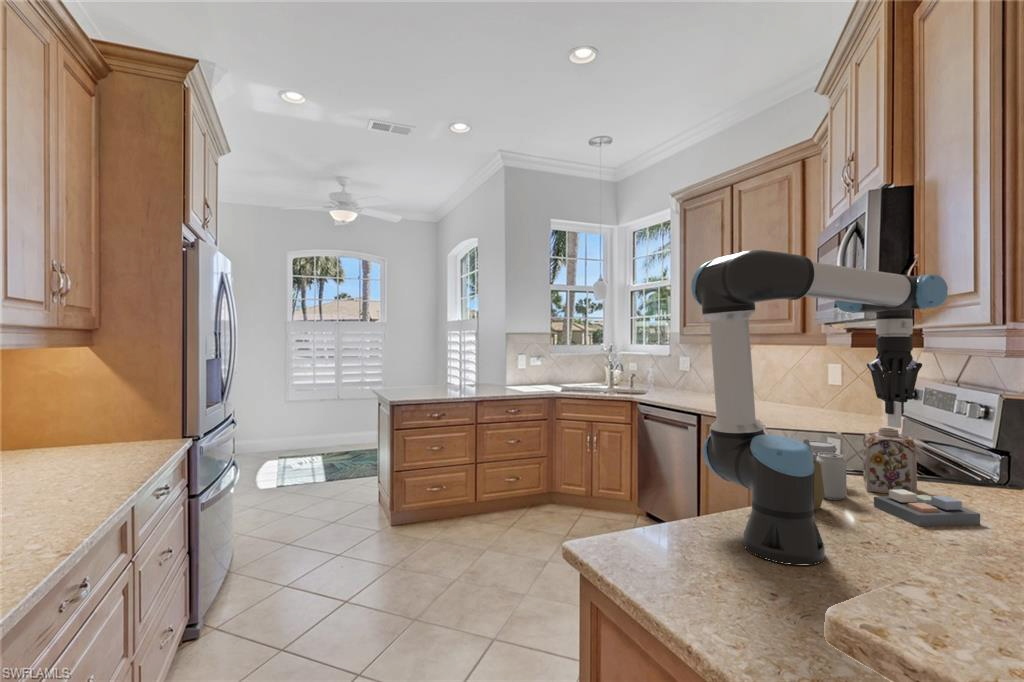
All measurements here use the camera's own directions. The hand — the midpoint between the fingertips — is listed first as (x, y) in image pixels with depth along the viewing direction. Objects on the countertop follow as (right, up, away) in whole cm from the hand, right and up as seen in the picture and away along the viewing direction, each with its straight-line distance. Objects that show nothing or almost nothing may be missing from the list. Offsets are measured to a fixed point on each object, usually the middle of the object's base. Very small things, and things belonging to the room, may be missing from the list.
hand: (894, 426), depth 128 cm
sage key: (+8, -21, 0) cm, 23 cm away
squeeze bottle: (-20, -22, +4) cm, 30 cm away
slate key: (+8, -20, -6) cm, 22 cm away
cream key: (+2, -20, -1) cm, 20 cm away
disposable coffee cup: (-3, -22, +26) cm, 34 cm away
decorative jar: (+12, -22, +18) cm, 31 cm away
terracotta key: (+2, -21, -7) cm, 22 cm away
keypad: (+5, -22, -3) cm, 23 cm away
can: (-9, -22, +12) cm, 27 cm away
